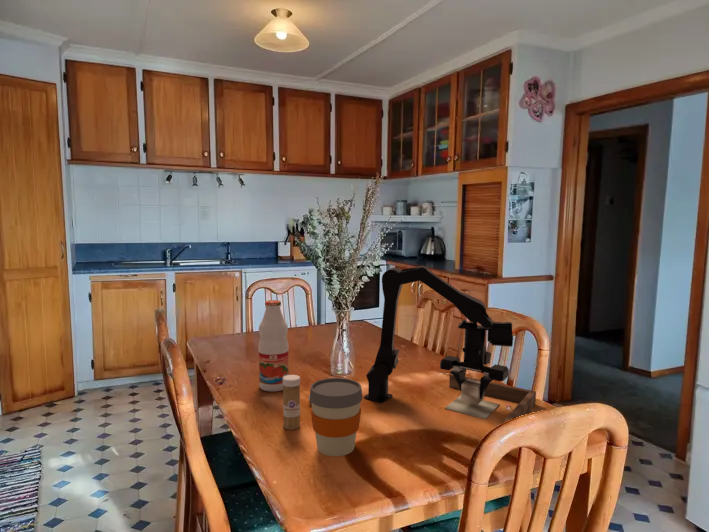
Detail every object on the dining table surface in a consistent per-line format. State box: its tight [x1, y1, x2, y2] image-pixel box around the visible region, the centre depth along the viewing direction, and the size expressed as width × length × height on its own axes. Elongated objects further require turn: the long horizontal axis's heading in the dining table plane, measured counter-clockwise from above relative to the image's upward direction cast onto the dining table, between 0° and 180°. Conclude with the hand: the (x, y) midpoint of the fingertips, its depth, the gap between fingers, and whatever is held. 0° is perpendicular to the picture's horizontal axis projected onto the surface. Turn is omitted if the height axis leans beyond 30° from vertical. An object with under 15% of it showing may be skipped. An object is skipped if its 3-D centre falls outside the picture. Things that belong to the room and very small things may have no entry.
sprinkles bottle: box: [282, 374, 301, 431], centre depth 124 cm, size 5×5×14 cm
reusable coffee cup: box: [309, 377, 363, 457], centre depth 113 cm, size 13×12×15 cm
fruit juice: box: [258, 299, 290, 393], centre depth 152 cm, size 9×9×28 cm
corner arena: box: [444, 373, 537, 425], centre depth 136 cm, size 28×26×4 cm
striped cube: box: [460, 379, 485, 405], centre depth 138 cm, size 5×5×5 cm
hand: (472, 396), depth 138 cm, fingers closed on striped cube, 5 cm apart
